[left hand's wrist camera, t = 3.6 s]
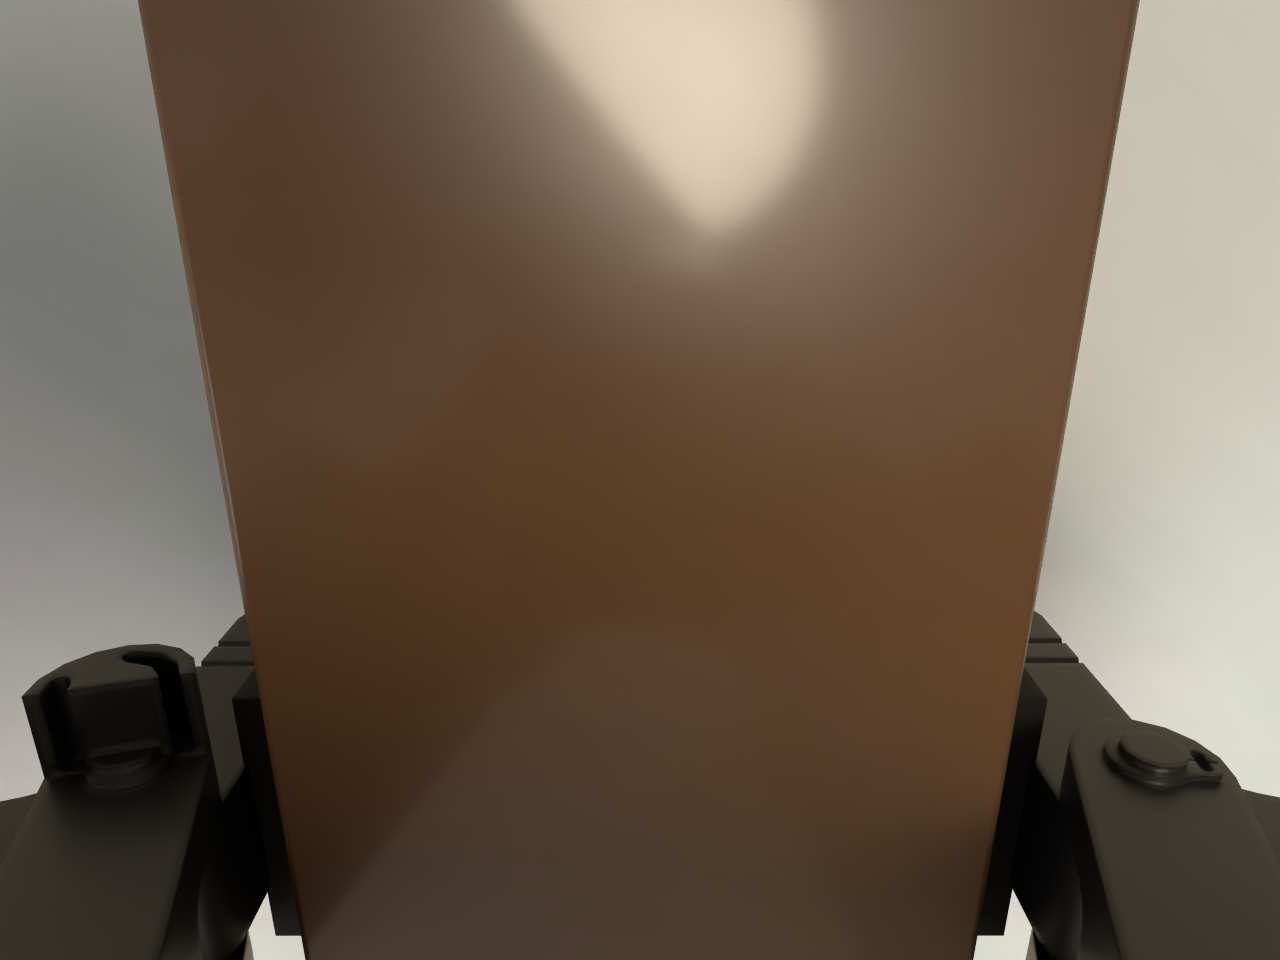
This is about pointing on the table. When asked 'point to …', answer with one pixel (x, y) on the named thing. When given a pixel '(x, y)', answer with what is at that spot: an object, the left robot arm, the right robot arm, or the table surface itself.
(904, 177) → the post
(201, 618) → the table surface
